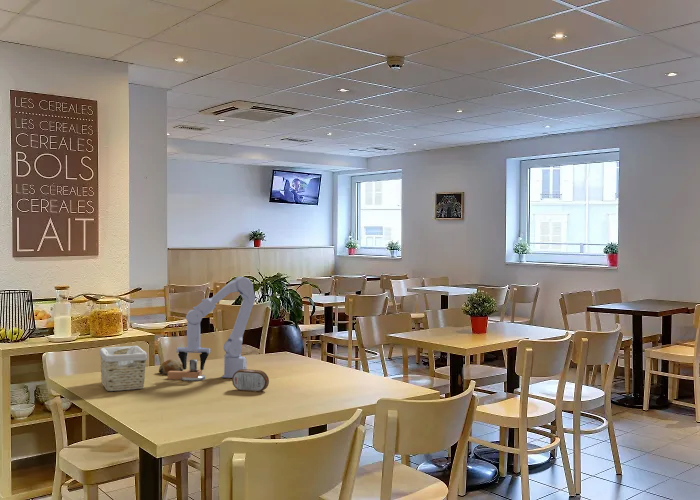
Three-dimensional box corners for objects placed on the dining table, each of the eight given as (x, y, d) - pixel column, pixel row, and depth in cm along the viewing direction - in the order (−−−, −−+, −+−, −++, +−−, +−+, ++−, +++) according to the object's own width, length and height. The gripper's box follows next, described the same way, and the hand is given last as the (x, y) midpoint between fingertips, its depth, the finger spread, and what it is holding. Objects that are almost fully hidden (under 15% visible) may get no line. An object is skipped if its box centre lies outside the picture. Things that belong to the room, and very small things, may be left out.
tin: (269, 391, 262) (269, 370, 262) (266, 393, 259) (266, 371, 259) (234, 388, 266) (234, 368, 266) (230, 390, 263) (231, 369, 263)
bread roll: (174, 383, 293) (182, 367, 293) (154, 373, 293) (162, 357, 293) (181, 378, 303) (188, 363, 303) (161, 369, 303) (168, 353, 303)
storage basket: (98, 381, 278) (98, 346, 278) (138, 378, 285) (138, 344, 285) (104, 393, 256) (104, 355, 256) (147, 389, 263) (148, 352, 263)
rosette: (208, 377, 289) (208, 374, 289) (200, 381, 279) (200, 378, 279) (186, 376, 290) (186, 373, 290) (177, 381, 280) (177, 378, 280)
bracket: (202, 377, 287) (202, 370, 287) (197, 380, 282) (197, 372, 282) (171, 376, 289) (171, 369, 289) (166, 379, 283) (166, 371, 283)
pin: (197, 375, 286) (198, 359, 286) (195, 377, 283) (195, 360, 283) (191, 375, 286) (191, 359, 286) (188, 376, 284) (188, 360, 283)
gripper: (173, 338, 282) (173, 370, 282) (206, 339, 280) (206, 371, 280) (179, 336, 289) (179, 367, 289) (212, 337, 287) (211, 368, 287)
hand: (193, 369), depth 285 cm, fingers open, 7 cm apart
